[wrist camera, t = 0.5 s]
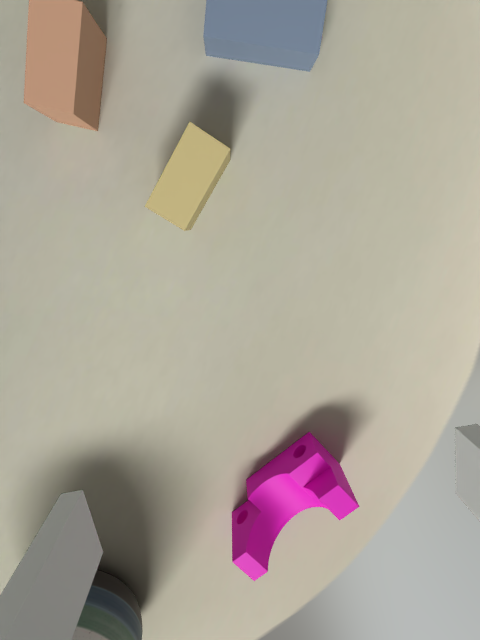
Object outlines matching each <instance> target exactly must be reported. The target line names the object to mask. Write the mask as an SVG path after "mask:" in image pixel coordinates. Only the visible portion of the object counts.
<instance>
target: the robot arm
mask: <svg viewBox="0 0 480 640" xmlns="http://www.w3.org/2000/svg"><path fill="white" fill-rule="evenodd" d="M455 455H456V456H455V463H456V464H455V467H456V494H457V495H458V496H459V498H460V499H461V500H462V501H463V502H464V503H465V505H466V506H467V507H468V508H469V509H470V511H471V512H472V513H473V514H474V515H475V516H476V518H477V519H478V520H479V521H480V426H479V425H478V424H474V425H468V426H461V427H456V428H455ZM102 554H103V550H102V547H101V544H100V541H99V538H98V535H97V531H96V528H95V525H94V522H93V519H92V516H91V513H90V510H89V507H88V504H87V501H86V498H85V495H84V492H83V490H79V491H73V492H67V493H61V495H60V496H59V498H58V500H57V501H56V503H55V505H54V506H53V508H52V510H51V511H50V513H49V515H48V516H47V518H46V520H45V522H44V523H43V525H42V527H41V528H40V530H39V532H38V533H37V535H36V537H35V538H34V540H33V542H32V543H31V545H30V547H29V548H28V550H27V552H26V553H25V555H24V557H23V558H22V560H21V562H20V563H19V565H18V567H17V568H16V570H15V572H14V573H13V575H12V577H11V578H10V580H9V582H8V583H7V585H6V587H5V588H4V590H3V592H2V594H1V595H0V640H72V637H73V634H74V631H75V629H76V626H77V623H78V620H79V618H80V615H81V612H82V609H83V607H84V604H85V601H86V598H87V596H88V593H89V590H90V587H91V585H92V582H93V579H94V576H95V574H96V571H97V568H98V565H99V563H100V560H101V557H102Z"/></svg>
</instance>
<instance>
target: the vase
mask: <svg viewBox="0 0 480 640" xmlns="http://www.w3.org/2000/svg"><path fill="white" fill-rule="evenodd" d="M72 640H142V618H141V612H140V608H139V605H138V602H137V600H136V598H135V596H134V594H133V593H132V591H131V590H130V589H129V588H128V587H127V586H126V585H125V584H124V583H123V582H122V581H120V580H119V579H117V578H116V577H114V576H112V575H110V574H107V573H105V572H102V571H98V570H97V571H96V574H95V576H94V579H93V582H92V585H91V587H90V590H89V593H88V596H87V598H86V601H85V604H84V607H83V609H82V612H81V615H80V618H79V620H78V623H77V626H76V629H75V631H74V634H73V637H72Z"/></svg>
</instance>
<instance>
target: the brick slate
mask: <svg viewBox="0 0 480 640" xmlns="http://www.w3.org/2000/svg"><path fill="white" fill-rule="evenodd" d="M326 6H327V0H207V1H206V13H205V25H204V43H205V51H206V56H212V57H219V58H225V59H232V60H238V61H245V62H251V63H258V64H264V65H271V66H277V67H284V68H290V69H296V70H303V71H309V72H310V70H311V68H312V67H313V65H314V63H315V61H316V59H317V57H318V55H319V51H320V44H321V38H322V32H323V25H324V19H325V12H326Z"/></svg>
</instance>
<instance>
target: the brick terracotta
mask: <svg viewBox="0 0 480 640" xmlns="http://www.w3.org/2000/svg"><path fill="white" fill-rule="evenodd" d="M106 43H107V38H106V37H105V35H104V34H103V32H102V31H101V29H100V28H99V26H98V25H97V23H96V22H95V20H94V19H93V17H92V15H91V14H90V12H89V11H88V9H87V8H86V6H85V5H84V3H83V2H80V1H76V0H29V12H28V31H27V51H26V70H25V89H24V103H25V104H27V105H28V106H30V107H32V108H34V109H35V110H37V111H39V112H40V113H42V114H44V115H46V116H47V117H49V118H51V119H52V120H54V121H56V122H59V123H64V124H68V125H73V126H77V127H81V128H86V129H90V130H95V131H98V124H99V114H100V104H101V94H102V83H103V73H104V63H105V53H106Z"/></svg>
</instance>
